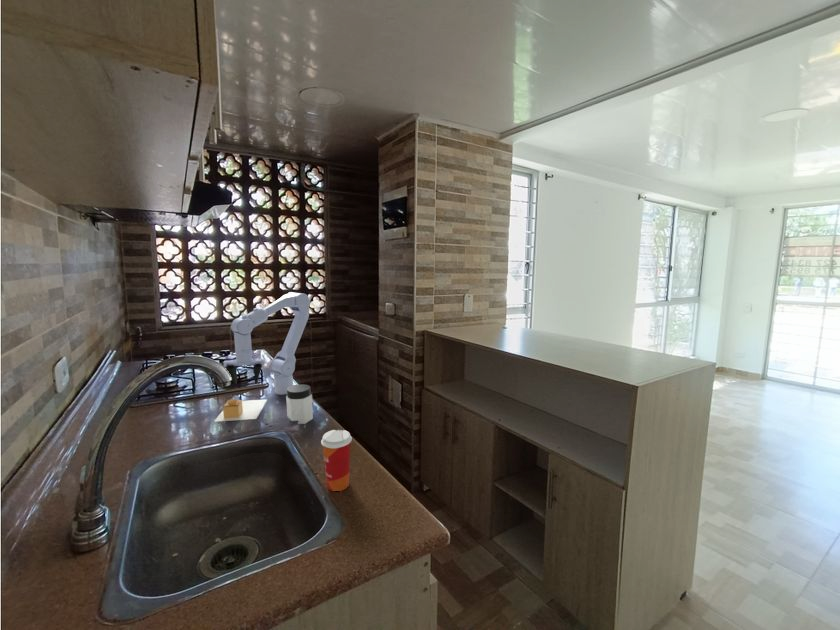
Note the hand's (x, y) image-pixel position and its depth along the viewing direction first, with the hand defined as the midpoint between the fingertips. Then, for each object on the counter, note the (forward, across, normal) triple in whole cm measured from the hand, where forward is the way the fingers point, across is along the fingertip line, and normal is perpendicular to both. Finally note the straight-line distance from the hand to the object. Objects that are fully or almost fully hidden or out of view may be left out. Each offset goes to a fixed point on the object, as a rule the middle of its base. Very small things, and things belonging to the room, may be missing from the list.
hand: (246, 383), depth 146 cm
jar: (+10, +22, -16) cm, 29 cm away
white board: (+9, 0, -7) cm, 12 cm away
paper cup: (+10, +37, -58) cm, 69 cm away
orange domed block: (+8, -2, -11) cm, 14 cm away
